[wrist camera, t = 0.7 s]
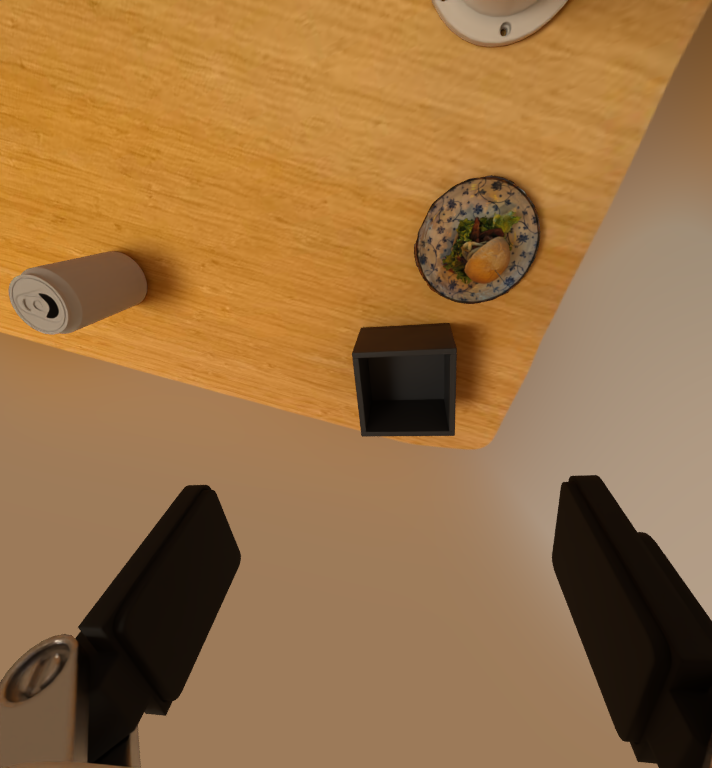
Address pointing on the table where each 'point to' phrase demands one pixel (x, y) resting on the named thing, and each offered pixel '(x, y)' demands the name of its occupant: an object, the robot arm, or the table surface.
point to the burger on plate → (478, 240)
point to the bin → (406, 380)
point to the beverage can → (77, 291)
